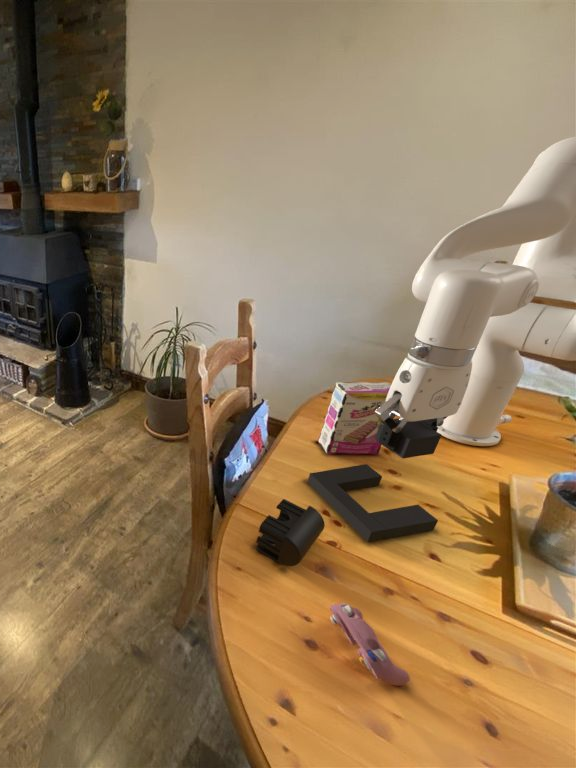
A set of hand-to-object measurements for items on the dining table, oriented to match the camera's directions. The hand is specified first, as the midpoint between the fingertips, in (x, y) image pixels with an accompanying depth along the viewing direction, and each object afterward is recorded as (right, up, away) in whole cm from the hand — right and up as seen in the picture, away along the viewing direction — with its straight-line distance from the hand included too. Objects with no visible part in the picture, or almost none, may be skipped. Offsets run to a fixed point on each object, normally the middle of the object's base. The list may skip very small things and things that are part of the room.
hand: (403, 443), depth 74 cm
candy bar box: (+5, -5, +22) cm, 23 cm away
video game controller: (-19, -27, -16) cm, 37 cm away
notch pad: (-1, -13, +7) cm, 15 cm away
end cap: (-21, -18, 0) cm, 28 cm away
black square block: (0, -1, 0) cm, 1 cm away
